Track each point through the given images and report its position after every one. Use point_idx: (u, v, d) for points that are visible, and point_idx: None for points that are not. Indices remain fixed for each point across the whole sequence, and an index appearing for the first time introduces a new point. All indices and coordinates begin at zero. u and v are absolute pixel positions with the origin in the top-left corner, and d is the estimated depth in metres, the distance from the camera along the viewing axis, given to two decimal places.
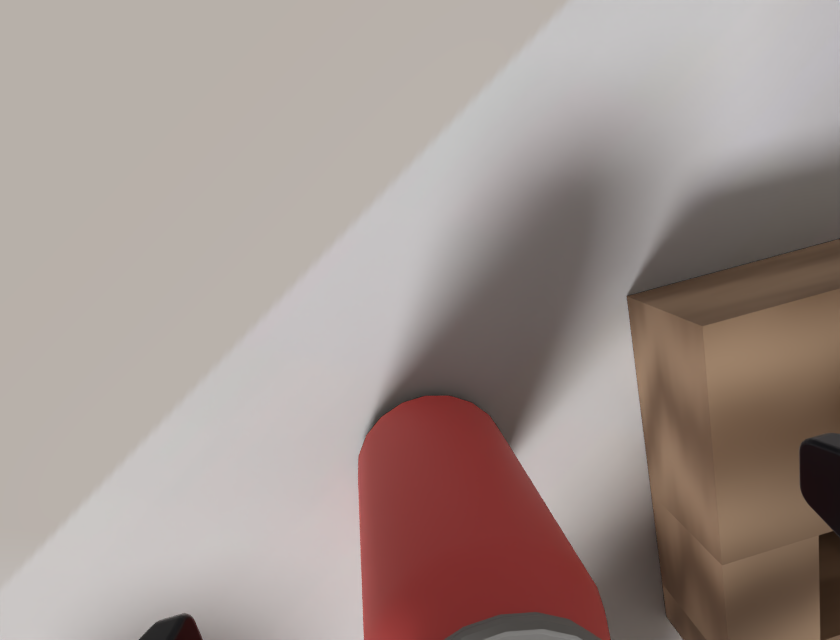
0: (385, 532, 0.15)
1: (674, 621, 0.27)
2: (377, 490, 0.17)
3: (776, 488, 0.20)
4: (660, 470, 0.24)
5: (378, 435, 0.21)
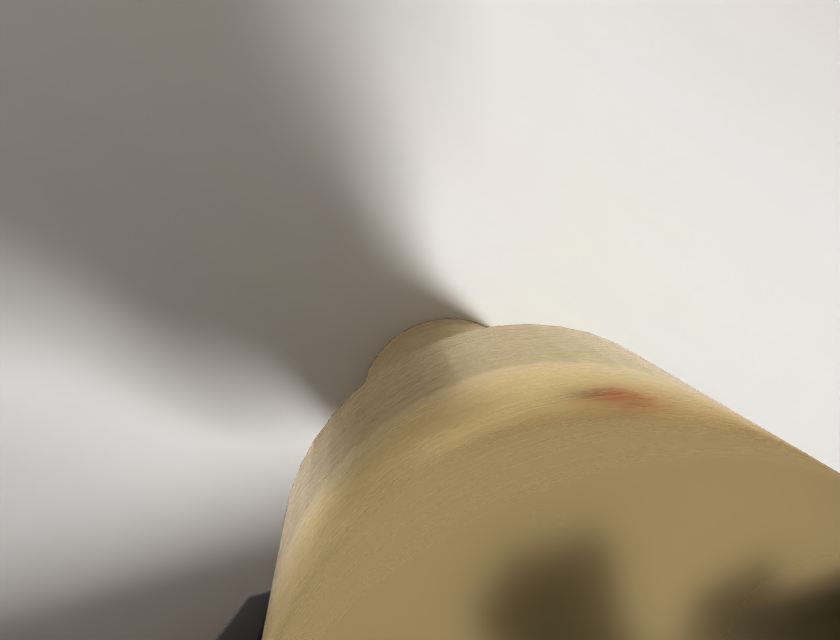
0: None
1: None
2: None
3: None
4: None
5: None
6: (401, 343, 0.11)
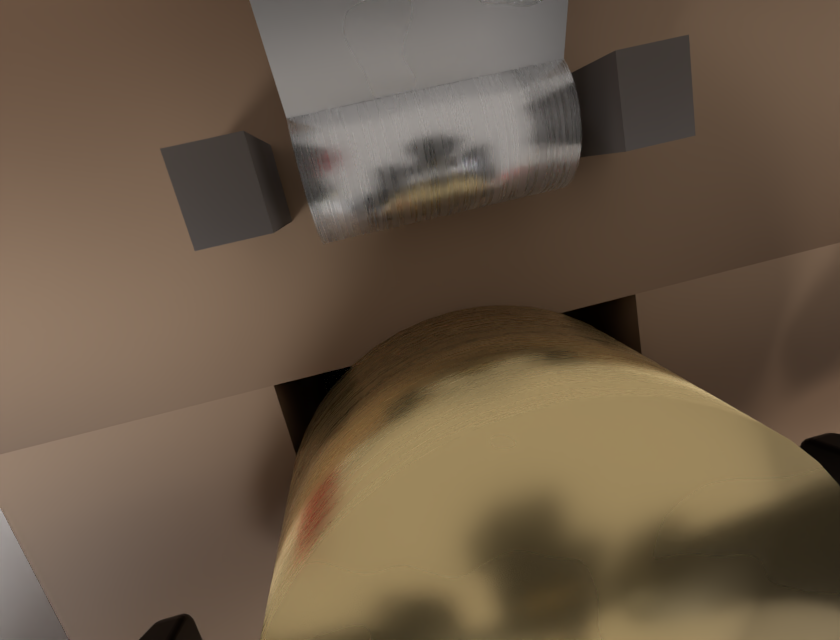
0: None
1: None
2: None
3: (74, 218, 0.07)
4: None
5: None
6: None
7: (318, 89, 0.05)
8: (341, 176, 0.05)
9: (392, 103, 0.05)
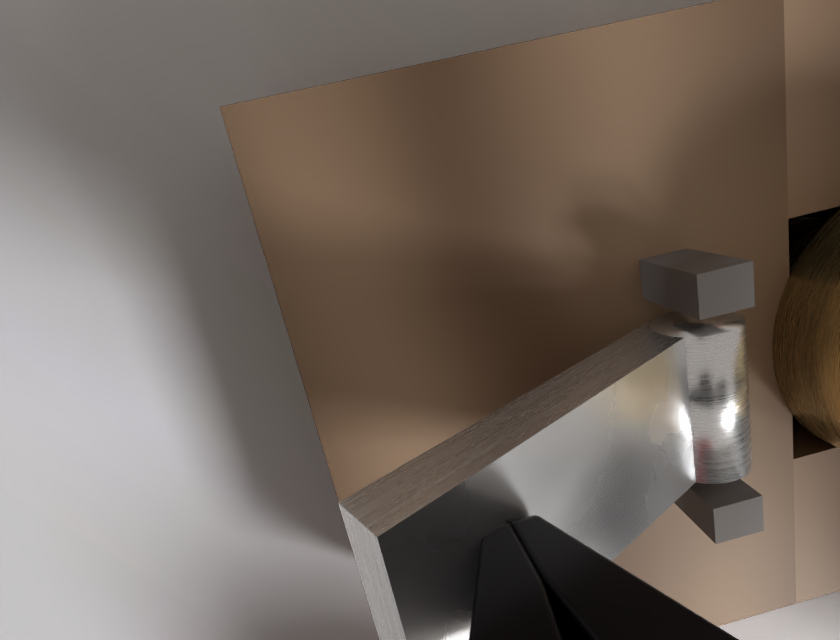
0: None
1: None
2: None
3: (683, 553, 0.12)
4: None
5: None
6: None
7: (688, 469, 0.10)
8: (736, 462, 0.10)
9: (698, 433, 0.10)
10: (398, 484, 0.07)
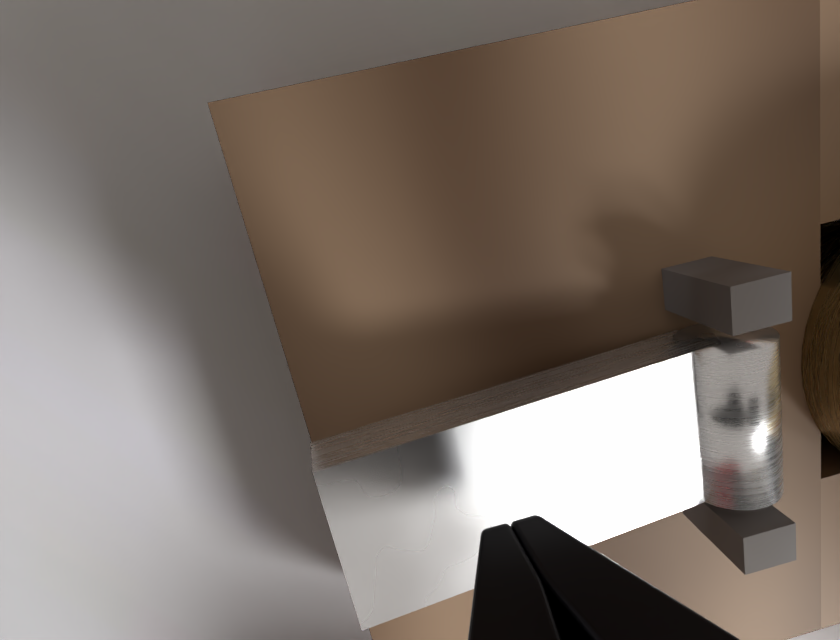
0: None
1: None
2: None
3: (704, 578, 0.12)
4: None
5: None
6: None
7: (693, 487, 0.09)
8: (750, 490, 0.09)
9: (707, 452, 0.09)
10: (355, 437, 0.08)
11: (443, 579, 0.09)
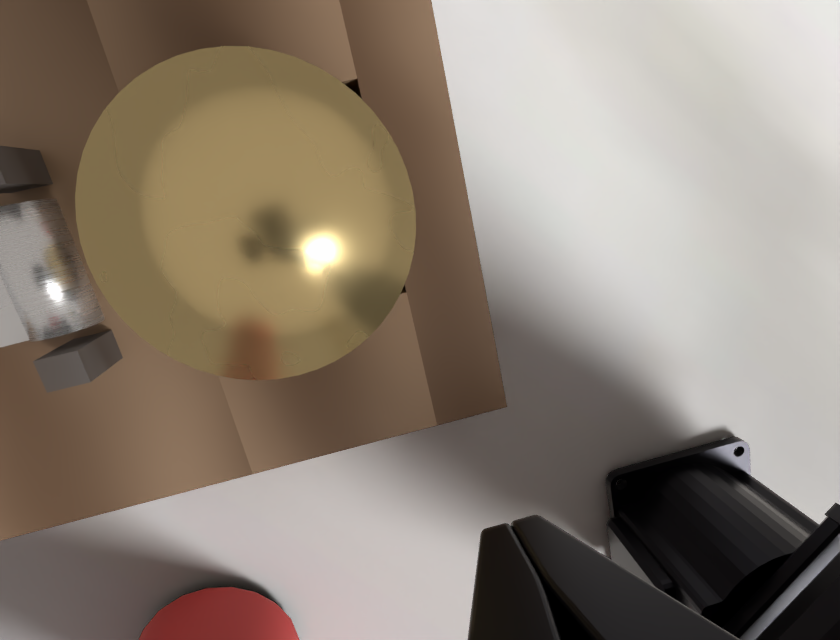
0: None
1: None
2: None
3: (124, 424, 0.14)
4: None
5: None
6: None
7: (13, 326, 0.12)
8: (33, 324, 0.12)
9: (10, 296, 0.12)
10: None
11: None
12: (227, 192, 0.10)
